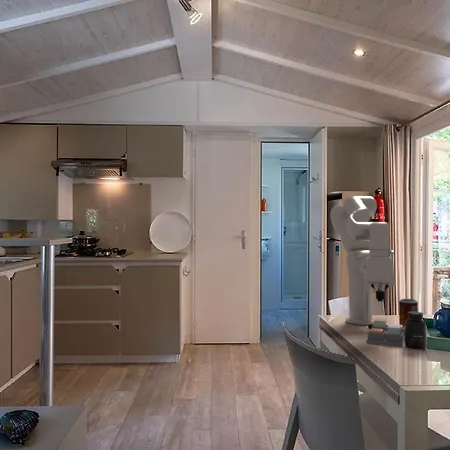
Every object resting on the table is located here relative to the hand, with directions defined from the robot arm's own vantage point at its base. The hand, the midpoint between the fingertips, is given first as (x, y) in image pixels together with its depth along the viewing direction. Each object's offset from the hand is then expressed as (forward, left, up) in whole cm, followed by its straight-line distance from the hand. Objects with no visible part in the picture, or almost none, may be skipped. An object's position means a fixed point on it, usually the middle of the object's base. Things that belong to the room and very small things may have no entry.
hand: (380, 301), depth 170 cm
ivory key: (0, +6, -12) cm, 13 cm away
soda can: (-13, +9, -13) cm, 21 cm away
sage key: (0, 0, -10) cm, 10 cm away
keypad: (+5, +3, -13) cm, 14 cm away
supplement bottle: (+13, +13, -13) cm, 23 cm away
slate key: (+10, +6, -10) cm, 15 cm away
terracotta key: (+10, 0, -12) cm, 15 cm away
